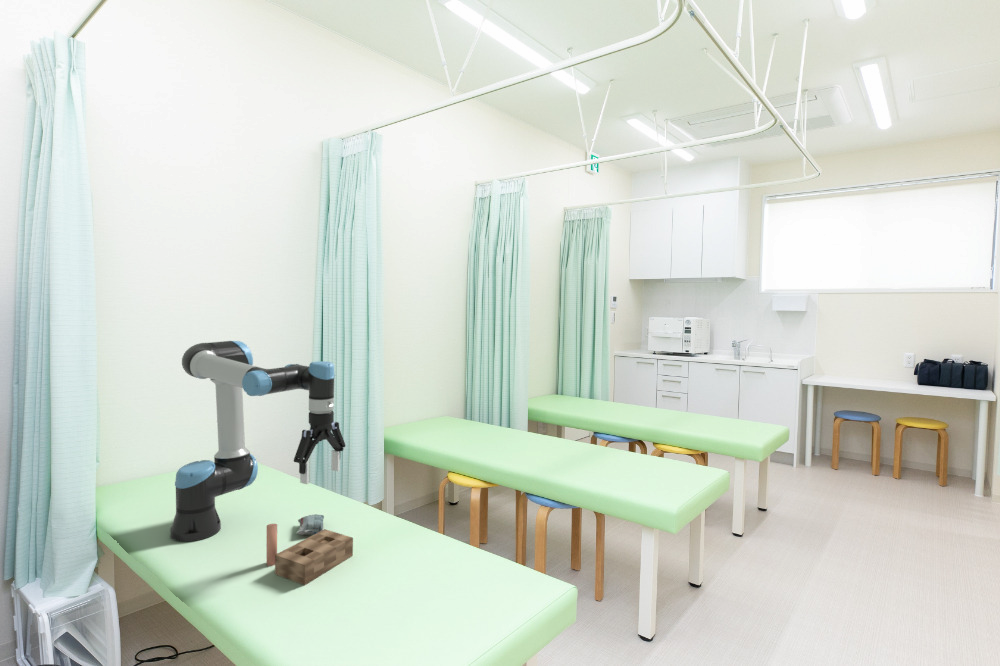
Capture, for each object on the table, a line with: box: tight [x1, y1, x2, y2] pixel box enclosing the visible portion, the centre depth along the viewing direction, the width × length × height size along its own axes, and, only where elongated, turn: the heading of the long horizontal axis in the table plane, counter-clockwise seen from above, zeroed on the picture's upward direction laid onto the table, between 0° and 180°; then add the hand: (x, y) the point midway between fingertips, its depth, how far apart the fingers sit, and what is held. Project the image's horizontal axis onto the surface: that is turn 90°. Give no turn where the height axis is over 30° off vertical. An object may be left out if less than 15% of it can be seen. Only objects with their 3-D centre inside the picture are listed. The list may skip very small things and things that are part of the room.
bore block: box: [274, 528, 354, 586], centre depth 167 cm, size 12×20×6 cm, turn 154°
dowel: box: [266, 523, 278, 567], centre depth 167 cm, size 3×3×12 cm
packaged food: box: [296, 513, 325, 536], centre depth 190 cm, size 9×12×5 cm
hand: (320, 476), depth 172 cm, fingers open, 13 cm apart
